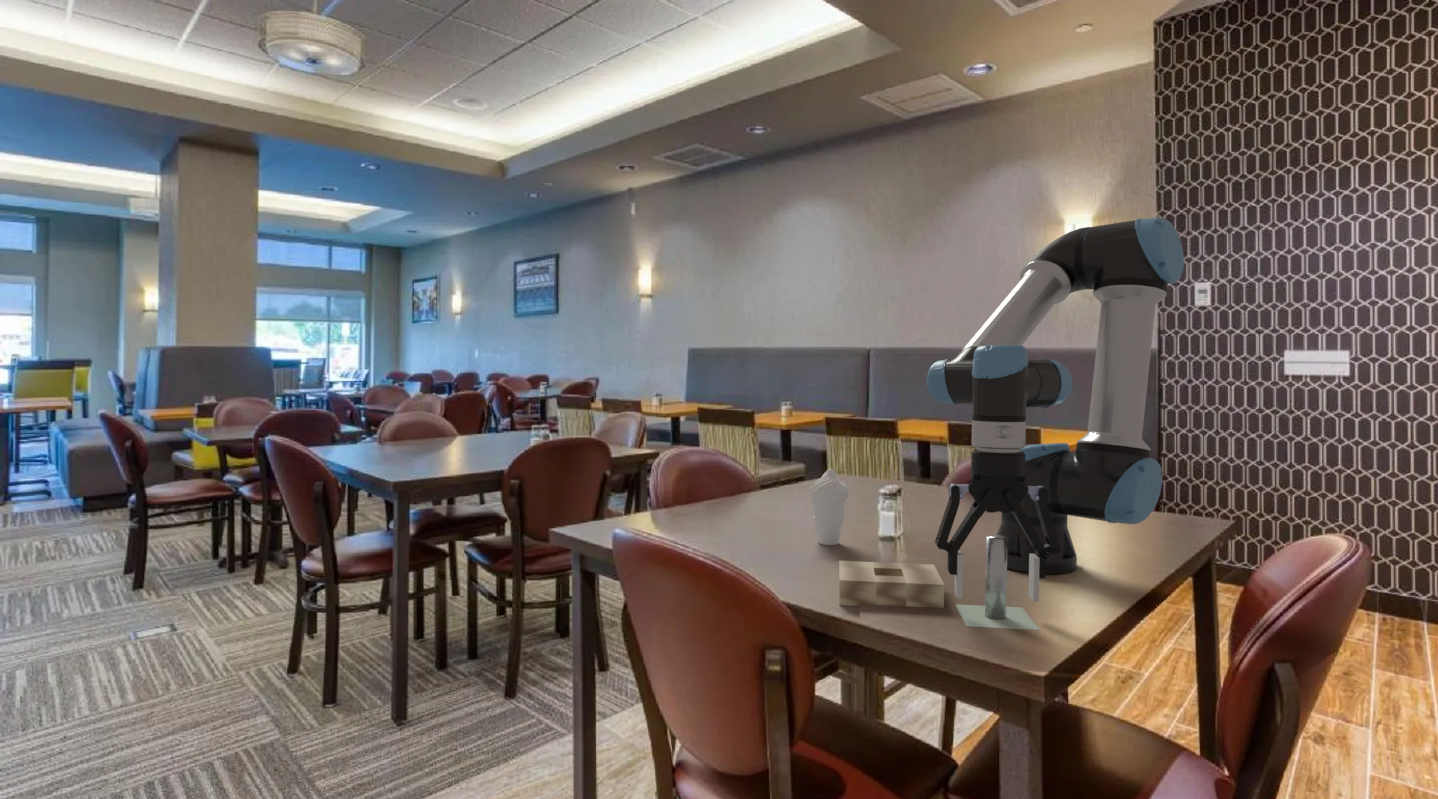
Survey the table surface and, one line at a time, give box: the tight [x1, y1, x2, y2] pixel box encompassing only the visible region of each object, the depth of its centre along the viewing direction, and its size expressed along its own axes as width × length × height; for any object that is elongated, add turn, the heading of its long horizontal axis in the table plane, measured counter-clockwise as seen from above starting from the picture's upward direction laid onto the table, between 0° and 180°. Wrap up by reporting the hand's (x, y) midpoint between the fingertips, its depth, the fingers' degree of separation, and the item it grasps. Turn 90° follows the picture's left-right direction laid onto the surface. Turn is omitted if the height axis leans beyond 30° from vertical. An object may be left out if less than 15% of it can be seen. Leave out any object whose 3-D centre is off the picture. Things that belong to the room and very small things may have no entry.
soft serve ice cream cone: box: [808, 468, 849, 546], centre depth 159 cm, size 8×8×16 cm
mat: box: [954, 603, 1040, 631], centre depth 111 cm, size 10×10×1 cm
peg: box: [984, 534, 1008, 620], centre depth 111 cm, size 3×3×12 cm
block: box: [838, 560, 945, 609], centre depth 122 cm, size 16×12×4 cm
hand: (995, 597), depth 111 cm, fingers open, 10 cm apart
